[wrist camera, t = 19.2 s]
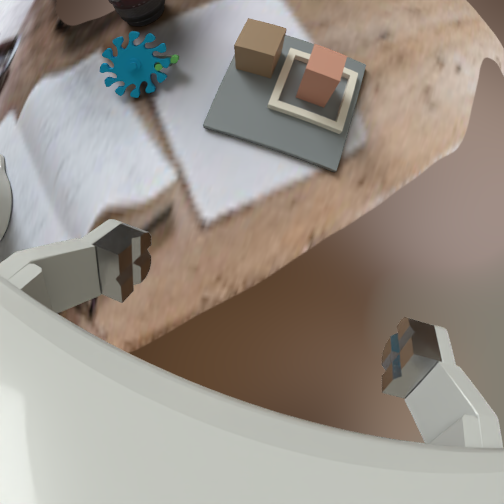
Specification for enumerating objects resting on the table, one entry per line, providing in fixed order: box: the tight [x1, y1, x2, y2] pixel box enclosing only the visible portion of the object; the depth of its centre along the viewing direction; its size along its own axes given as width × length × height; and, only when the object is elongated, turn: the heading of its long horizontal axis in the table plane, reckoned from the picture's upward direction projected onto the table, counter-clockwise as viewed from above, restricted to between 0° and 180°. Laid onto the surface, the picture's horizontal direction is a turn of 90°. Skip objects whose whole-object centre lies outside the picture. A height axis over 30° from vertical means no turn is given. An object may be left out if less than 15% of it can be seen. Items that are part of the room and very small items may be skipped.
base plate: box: [203, 18, 366, 172], centre depth 35 cm, size 18×18×7 cm
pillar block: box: [296, 44, 347, 108], centre depth 34 cm, size 4×4×8 cm
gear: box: [100, 31, 179, 98], centre depth 36 cm, size 11×6×10 cm
